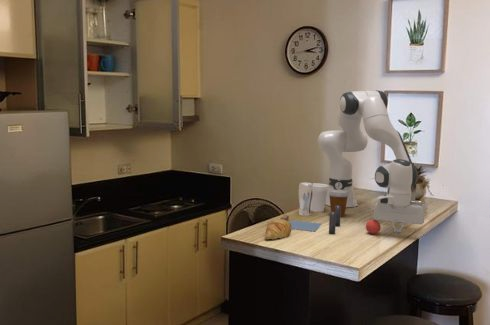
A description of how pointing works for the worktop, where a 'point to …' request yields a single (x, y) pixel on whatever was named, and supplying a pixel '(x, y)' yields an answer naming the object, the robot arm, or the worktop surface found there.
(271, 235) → the croissant
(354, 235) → the worktop surface
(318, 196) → the foam cup
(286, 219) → the wall
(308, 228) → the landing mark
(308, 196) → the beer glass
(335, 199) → the disposable coffee cup
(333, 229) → the post
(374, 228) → the ball
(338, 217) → the post
